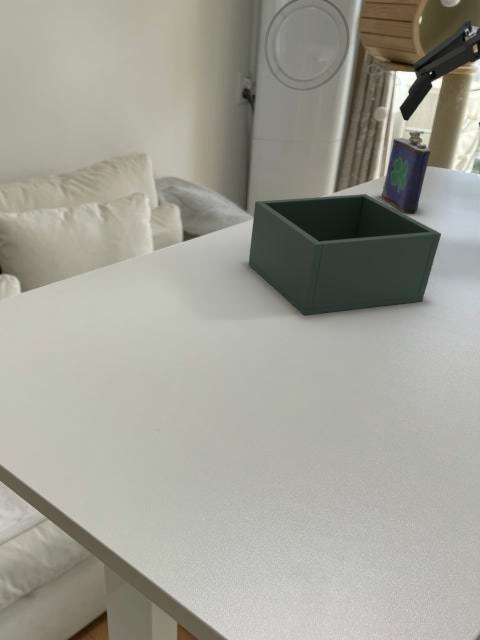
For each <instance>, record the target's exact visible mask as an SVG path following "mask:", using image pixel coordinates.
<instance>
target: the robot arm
mask: <svg viewBox="0 0 480 640" xmlns="http://www.w3.org/2000/svg"><path fill="white" fill-rule="evenodd" d="M474 46H476V50H477V51H474ZM479 60H480V26H476V25H472V21H471V20H465V21H464V22H463V23H462V24H461V25H460V26H459V28H458V29H457V30H456V31H455V32H454V33H452V34H450V36H448V37H447V38H446V39H444V41H442V42H440V43H439V44H438V45H437V46H435V47H434V48H433V49H432V50H430V51H429V52H427V53H426V54H425V55H424V56H422V57H421V58H419V60H417V61H415V63H413V65H412V67H413V71H414V74H415V77H416V79H415V80H414V82H413V83H412V84H411V85H410V87H409V88H408V95H407V96H406V98H405V99H404V101H403V102H402V103H401V105H400V106H399V111H400V114H401V116H402V119H403V121H407V122H408V121H409V120H410V119H411V117H412V116H413V114H414V113H415V112H416V111H417V109H418V108H419V106H420V105H421V103H422V102H423V101H424V99H425V98H426V97H427V95H428V94H429V93H430V91H431V90H432V88H433V86H434V85H433V83H432V82H434V81H437V80H438V79H441V78H442V77H443V76H446V75H447V74H449V73H451V72H453V71H455V70H457V69H459V68H461V67H463V66H465V65H467V64H468V63H472V64H473V63H475V62H477V61H479ZM478 126H479V128H480V121H479V122H478Z"/></svg>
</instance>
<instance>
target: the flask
mask: <svg viewBox="0 0 480 640" xmlns="http://www.w3.org/2000/svg"><path fill="white" fill-rule="evenodd" d="M423 134H425V132H424V131H423V130H421V131H417V130H416V131H409V136H410V137H409V138H404V137H396V138H393V141H392V147H391V152H390V156H389V162H388V165H387V171H386V174H385V179H384V184H383V188H382V192H381V199H383V200H384V201H386V202H387V203H389V204H390V205H392V206H394V207H395V208H398V210H399V211H400V212H401V213H406V214H411V215H412V214H417V212H418V207H419V202H420V198H421V194H422V190H423V184H424V180H425V175H426V173H427V172H426V171H427V168H428V164H429V160H430V157H431V152H432V151H431V149H430V148H428V147H427V144H425V143H423V139H422V138H421V137H420V136H421V135H423ZM421 143H422V144H421Z"/></svg>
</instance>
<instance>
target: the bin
mask: <svg viewBox="0 0 480 640" xmlns="http://www.w3.org/2000/svg"><path fill="white" fill-rule="evenodd" d="M253 211H254V212H253V220H252V229H251V239H250V248H249V257H248V266H249V267H251V268H252V269H253V270H254V271H255V272H256V273H257V274H259V276H260V277H261V278H263V279H264V281H266V282H267V283H268V284H269V285H270V286H272V287H273V288H274V289H275V290H276V291H277V292H278V293H279V294H280V295H281V296H283V298H284V299H286V301H288V302H289V303H290V304H291V305H292V306H293V307H294V308H295V309H296V310H298V311H299V312H300V313H301V314H302V315H303V316H308V315H316V314H317V315H318V314H323V313H324V314H325V313H333V312H334V313H335V312H341V311H351V310H358V309H368V308H377V307H385V306H392V305H393V306H394V305H403V304H409V303H420V302H423V300H424V297H425V293H426V290H427V287H428V282H429V279H430V276H431V272H432V269H433V265H434V261H435V258H436V254H437V251H438V246H439V243H440V240H441V236H442V233H441V232H439V231H437V230H435V229H433V228H431V227H430V226H428V225H426V224H424V223H422V222H420V221H417V220H416V219H415V218H412V217H410V216H409V215H407V214H404V212H402V211H400V210H397V209H395V208H393V207H391V206H390V205H388V204H385V203H384V202H381V201H380V200H378V199H376V198H374V197H372V196H370V195H368V194H366V193H363V194H362V193H361V194H349V195H348V194H347V195H334V196H331V195H330V196H319V197H317V196H316V197H304V198H289V199H275V200H274V199H273V200H257V201H255V203H254V210H253Z"/></svg>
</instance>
